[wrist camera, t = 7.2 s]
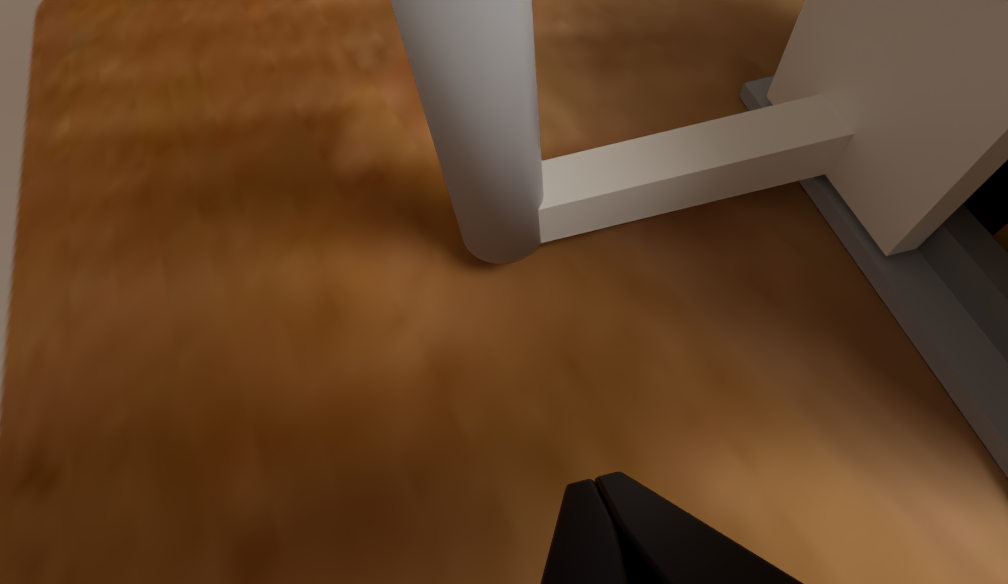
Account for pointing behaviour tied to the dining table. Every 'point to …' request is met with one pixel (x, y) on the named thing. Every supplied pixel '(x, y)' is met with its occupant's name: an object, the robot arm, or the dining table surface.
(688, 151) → the grey u-shaped bracket
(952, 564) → the dining table surface
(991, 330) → the box
